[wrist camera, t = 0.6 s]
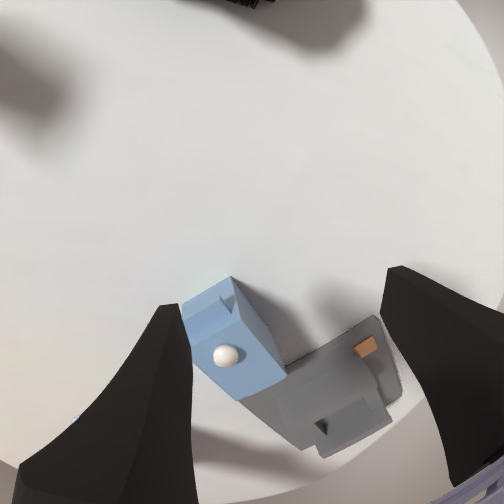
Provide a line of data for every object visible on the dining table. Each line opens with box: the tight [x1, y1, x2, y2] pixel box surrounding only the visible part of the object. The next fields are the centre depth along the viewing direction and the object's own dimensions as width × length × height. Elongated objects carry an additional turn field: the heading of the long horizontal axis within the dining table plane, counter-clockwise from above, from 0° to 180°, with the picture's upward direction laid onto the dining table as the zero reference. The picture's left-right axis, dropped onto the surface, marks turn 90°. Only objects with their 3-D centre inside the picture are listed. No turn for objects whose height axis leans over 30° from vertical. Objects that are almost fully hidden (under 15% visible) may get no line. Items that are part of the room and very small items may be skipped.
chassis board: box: [238, 315, 402, 459], centre depth 27 cm, size 14×15×4 cm
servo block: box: [182, 276, 287, 401], centre depth 20 cm, size 4×8×6 cm, turn 30°
